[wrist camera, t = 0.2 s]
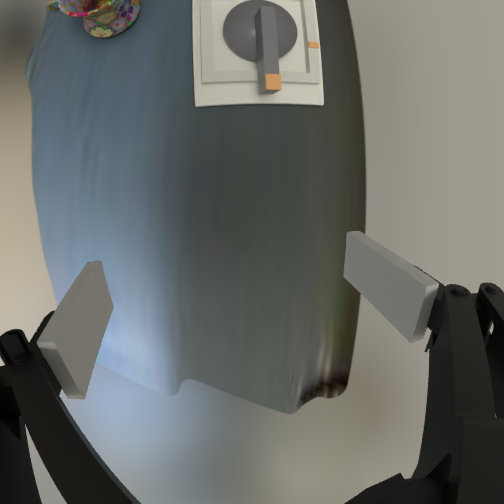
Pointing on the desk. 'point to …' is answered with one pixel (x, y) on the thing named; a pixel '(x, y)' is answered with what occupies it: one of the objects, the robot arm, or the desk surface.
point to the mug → (100, 14)
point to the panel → (246, 72)
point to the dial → (261, 38)
